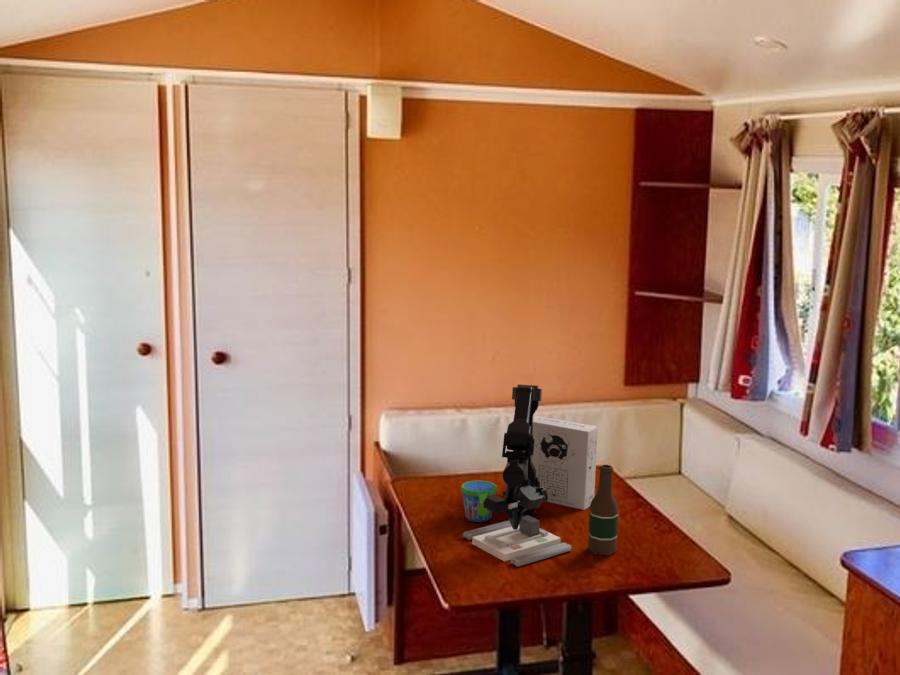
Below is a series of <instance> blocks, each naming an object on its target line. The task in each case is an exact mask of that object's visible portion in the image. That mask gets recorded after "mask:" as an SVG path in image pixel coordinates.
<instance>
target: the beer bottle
mask: <svg viewBox="0 0 900 675" xmlns="http://www.w3.org/2000/svg"><path fill="white" fill-rule="evenodd" d="M598 469H599V479H598V487H597V491H596V494H595V495H594V498H593V500H592V502H591V504H590V506H589V516H588V518H589V519H588V535H587V536H588V539H587V548H588V550H589V552H590V551H591V552H592V553H591V552H590V553H591V554H594V553H596V554H595V555H597V554H599V555H598V556H600V555H605V556H612V555H613V554H615V553H616V552H617V546H618V545H617V543H618V530H619V529H618V528H619V505H618V503H617V500H616V498H615V496H614V493H613V472H614V468H613V466H612V465H610V464H601V465H599V468H598ZM614 552H615V553H614ZM612 553H613V554H612ZM611 554H612V555H611Z"/></svg>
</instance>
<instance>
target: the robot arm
mask: <svg viewBox="0 0 900 675" xmlns="http://www.w3.org/2000/svg"><path fill="white" fill-rule="evenodd" d="M511 393H512V394H511V400H514V414H513V421H511V422H510V423H508V424H507V429H506V432H504V434H503V442H502V451H501V458H505V459H507V460H506V464H505V467H504V469H503V472H502V479H503V481H504V483H505V484H506V485H505V486H506V487H505V490H503V491H502V496H505V497H504V498H502V497H500V496H498V495H496V494H495V496H491V497H487V498H485V499H484V508H486V509H488V510H490V511H492V513H495V514H501V513H505V514H506V516H507V519H508V520H509V521H510V523H511V526H512V528H513V529H514V530H516V529H518V526H519V524H520V521H521V519H522V517H523V516H527V515H529V516H531V517H532V516H536V515H538V513H539V512H538V511H536V510H535V508H537V509H538V508H540V506H541V504H542V503H544V502H547V500H548V494H547V492H546V489H545V488H544V487H540V482H539V480H538V477H536V469H535V467H534V465H533V464H532V462H531V460H532V455H533V453H534V443H535V439H534V438H533V417H534V415H535V413H536V411H537V410H538V408H539V406H540V402H542V396H543V389H542V388H539V385H535V384H534V385H533V384H517V385H516V387H515V386H513V387H512V391H511Z"/></svg>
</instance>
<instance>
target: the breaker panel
mask: <svg viewBox="0 0 900 675" xmlns="http://www.w3.org/2000/svg"><path fill="white" fill-rule="evenodd" d="M561 539H562V538H561V537H560V536H557V535H555V534H553V533H551V532H549V531H547V530H545V529H542V528H539V535H536V536H532V537H530V536H528V535H526V534H524V533H522V532H520V531H519V526H518V529H516V530H514V529H513V528H512V526H511V527H508V528H504V529H500V530H496V531H493V532H489V533H485V534H482V535H478V536H474V537H472V541H471V543H472V545H473V546H475V547H477V548H479V549H481V550H482V551H484V552H486V553H488V554H490V555H492V556H494V557H495V558H498V559H499V560H501V561H503V562H504V563H505V562H507V561H510V560H511V558H513V557H516V556H520V555H523V554H527V553H530V552H533V551H537V550H540V549H544V548H547V547H550V546H554V545H557V544H560V543H562V542H561Z"/></svg>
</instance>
